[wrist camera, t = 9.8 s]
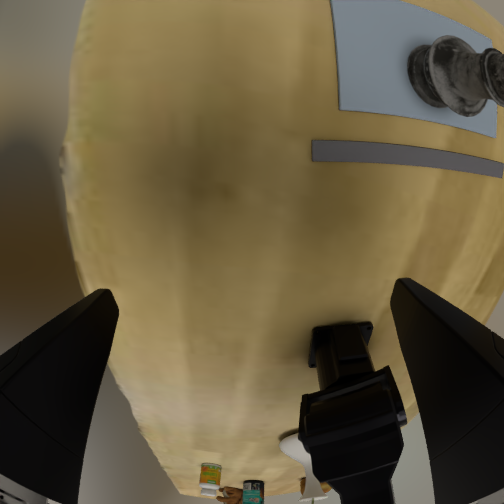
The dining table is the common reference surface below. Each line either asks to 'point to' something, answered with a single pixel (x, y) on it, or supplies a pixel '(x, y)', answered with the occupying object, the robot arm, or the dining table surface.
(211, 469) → the supplement bottle
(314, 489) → the flower in vase
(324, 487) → the bread roll
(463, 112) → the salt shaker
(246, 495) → the beverage can
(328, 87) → the dining table surface
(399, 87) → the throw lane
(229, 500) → the stuffed squirrel
